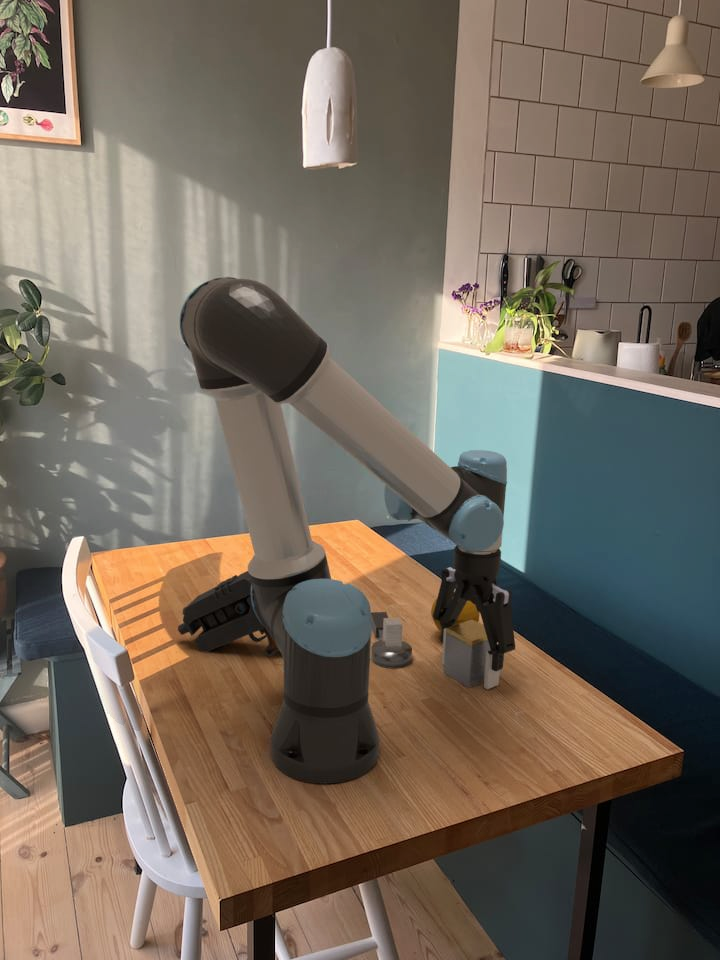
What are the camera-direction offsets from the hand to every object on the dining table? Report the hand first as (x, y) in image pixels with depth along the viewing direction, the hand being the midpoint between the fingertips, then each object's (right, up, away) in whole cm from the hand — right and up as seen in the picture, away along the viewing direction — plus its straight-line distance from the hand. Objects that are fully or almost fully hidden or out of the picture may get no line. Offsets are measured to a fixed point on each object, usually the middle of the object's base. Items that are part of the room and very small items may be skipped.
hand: (469, 674), depth 135 cm
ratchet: (-14, +3, +11) cm, 18 cm away
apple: (-1, +3, +13) cm, 14 cm away
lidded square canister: (0, 0, 0) cm, 0 cm away
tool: (-40, +3, +7) cm, 41 cm away
